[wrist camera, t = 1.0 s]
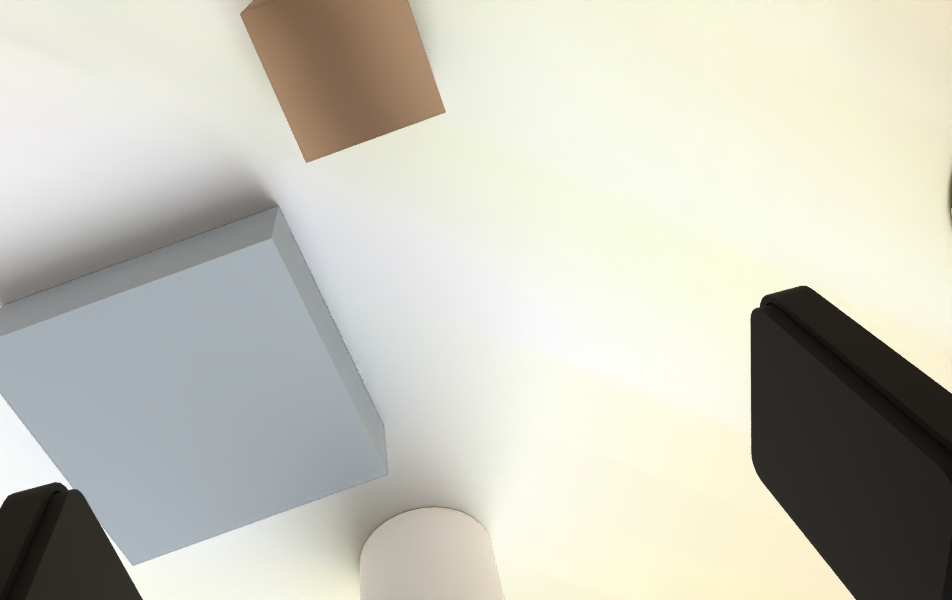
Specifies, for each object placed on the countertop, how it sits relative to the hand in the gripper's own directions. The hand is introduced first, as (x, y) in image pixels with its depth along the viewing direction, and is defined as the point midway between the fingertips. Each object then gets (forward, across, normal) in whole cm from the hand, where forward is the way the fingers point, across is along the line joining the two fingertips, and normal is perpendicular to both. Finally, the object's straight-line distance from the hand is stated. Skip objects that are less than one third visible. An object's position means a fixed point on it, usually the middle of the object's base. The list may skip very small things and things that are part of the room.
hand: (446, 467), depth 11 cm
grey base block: (+23, +9, +10) cm, 27 cm away
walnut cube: (+22, 0, -2) cm, 23 cm away
